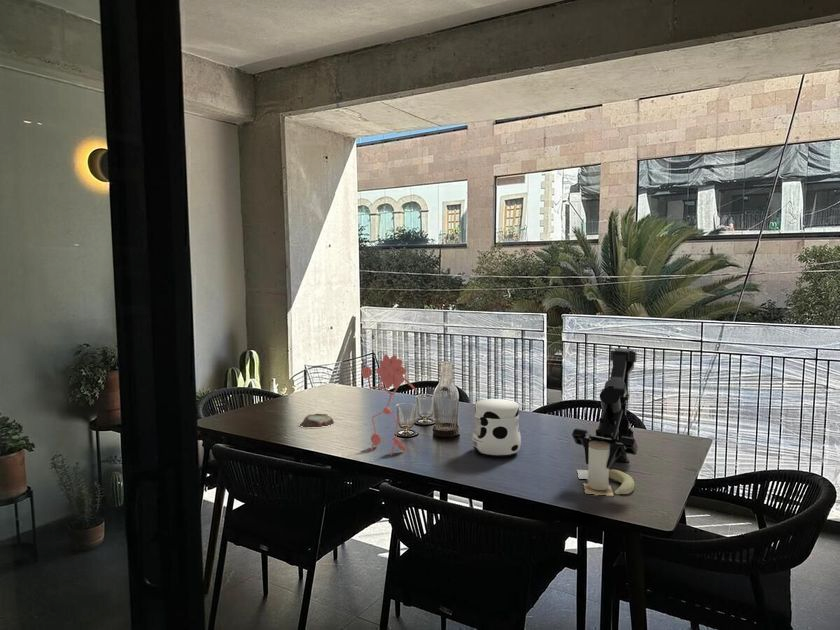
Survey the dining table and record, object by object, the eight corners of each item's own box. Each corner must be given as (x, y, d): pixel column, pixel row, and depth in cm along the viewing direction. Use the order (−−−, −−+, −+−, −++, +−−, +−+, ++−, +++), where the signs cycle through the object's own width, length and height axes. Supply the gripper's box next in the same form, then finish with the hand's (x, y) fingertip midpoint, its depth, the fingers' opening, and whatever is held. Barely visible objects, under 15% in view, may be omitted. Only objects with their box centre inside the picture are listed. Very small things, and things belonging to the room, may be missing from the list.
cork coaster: (583, 484, 181) (583, 483, 181) (610, 486, 180) (610, 485, 180) (585, 494, 174) (585, 493, 174) (613, 496, 172) (613, 495, 172)
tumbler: (585, 482, 180) (586, 440, 178) (604, 482, 180) (606, 440, 179) (591, 490, 174) (592, 447, 172) (611, 489, 174) (612, 447, 173)
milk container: (528, 450, 214) (529, 402, 213) (507, 464, 200) (508, 412, 198) (486, 442, 224) (486, 396, 222) (463, 454, 210) (463, 405, 208)
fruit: (626, 477, 188) (627, 467, 188) (639, 496, 173) (639, 485, 173) (603, 477, 189) (603, 467, 188) (614, 495, 174) (614, 484, 173)
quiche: (283, 424, 253) (283, 415, 253) (325, 416, 265) (325, 407, 265) (305, 435, 236) (305, 425, 236) (349, 426, 249) (349, 417, 249)
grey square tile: (576, 470, 193) (576, 469, 193) (602, 472, 192) (602, 471, 192) (578, 479, 186) (578, 478, 186) (605, 481, 184) (605, 480, 184)
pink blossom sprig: (409, 460, 203) (409, 360, 201) (352, 447, 218) (352, 354, 215) (433, 450, 216) (434, 355, 214) (378, 438, 231) (378, 349, 228)
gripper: (645, 439, 183) (634, 485, 175) (586, 429, 193) (573, 472, 186) (639, 420, 176) (627, 467, 168) (578, 411, 186) (564, 454, 178)
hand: (597, 465), depth 175 cm, fingers closed on tumbler, 6 cm apart
